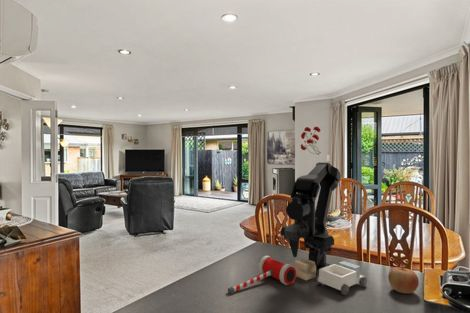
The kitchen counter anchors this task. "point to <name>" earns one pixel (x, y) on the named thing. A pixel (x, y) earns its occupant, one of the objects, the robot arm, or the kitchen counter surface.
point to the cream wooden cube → (305, 269)
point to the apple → (403, 280)
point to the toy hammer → (270, 273)
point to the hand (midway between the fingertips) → (305, 260)
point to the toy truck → (341, 276)
